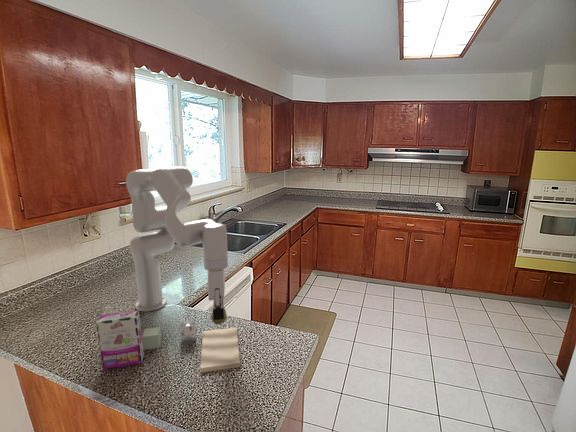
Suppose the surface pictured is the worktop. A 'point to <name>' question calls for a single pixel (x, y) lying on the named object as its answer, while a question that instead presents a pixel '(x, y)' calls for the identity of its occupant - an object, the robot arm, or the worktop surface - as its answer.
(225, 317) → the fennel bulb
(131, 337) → the candy bar box
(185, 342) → the glass globe
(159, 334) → the sage cube
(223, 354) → the birch board
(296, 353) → the worktop surface
